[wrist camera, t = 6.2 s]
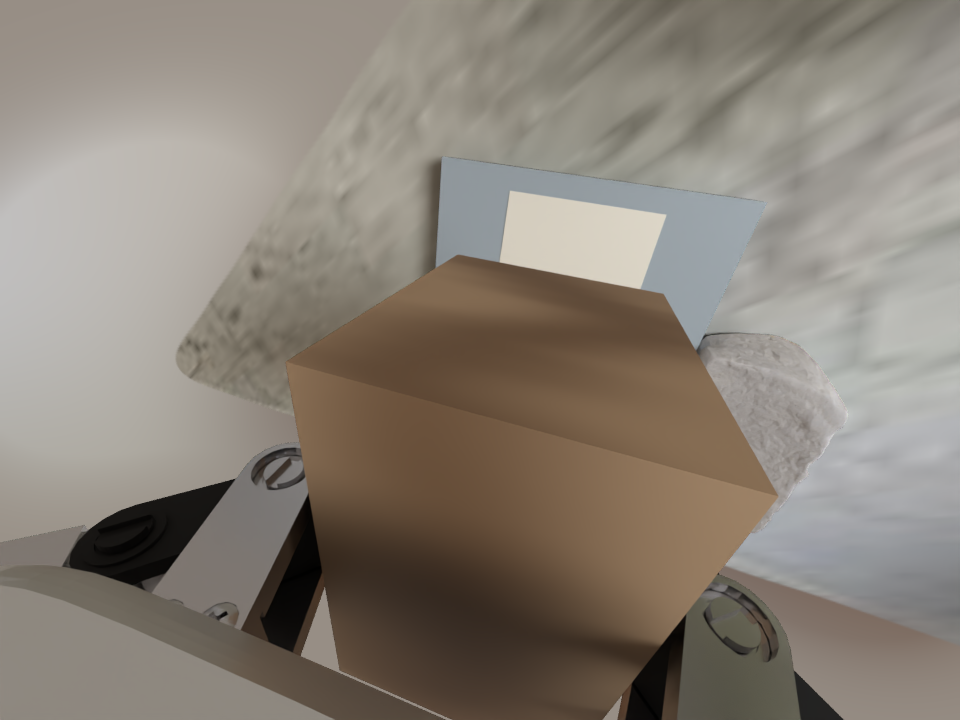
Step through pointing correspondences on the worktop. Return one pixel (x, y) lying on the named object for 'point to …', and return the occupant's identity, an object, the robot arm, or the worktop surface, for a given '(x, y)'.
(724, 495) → the walnut block
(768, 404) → the rough stone chunk
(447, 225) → the board
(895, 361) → the worktop surface
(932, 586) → the worktop surface
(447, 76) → the worktop surface
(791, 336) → the worktop surface
